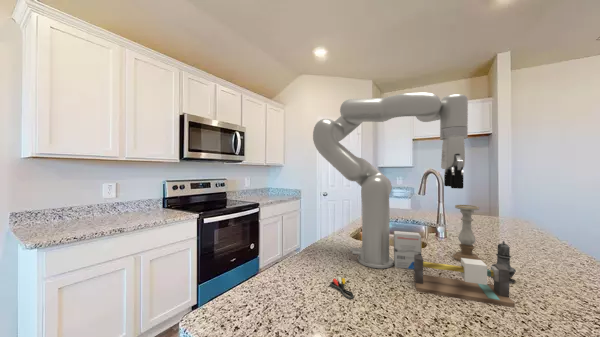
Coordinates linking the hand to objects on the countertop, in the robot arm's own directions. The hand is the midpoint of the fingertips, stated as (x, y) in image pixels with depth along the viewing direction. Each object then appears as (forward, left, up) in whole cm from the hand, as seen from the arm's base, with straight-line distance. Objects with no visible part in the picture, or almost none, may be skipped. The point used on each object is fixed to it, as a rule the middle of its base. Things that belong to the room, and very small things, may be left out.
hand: (453, 187), depth 79 cm
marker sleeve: (+3, -11, -25) cm, 27 cm away
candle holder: (+8, +17, -28) cm, 34 cm away
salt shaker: (+14, +2, -28) cm, 32 cm away
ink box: (-14, +2, -29) cm, 32 cm away
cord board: (-1, -11, -28) cm, 30 cm away
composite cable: (-32, -23, -29) cm, 49 cm away
